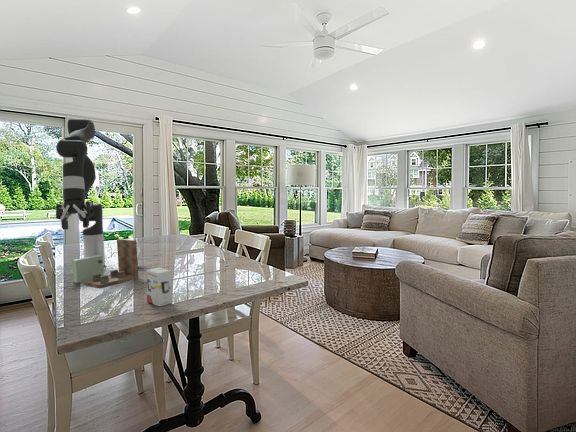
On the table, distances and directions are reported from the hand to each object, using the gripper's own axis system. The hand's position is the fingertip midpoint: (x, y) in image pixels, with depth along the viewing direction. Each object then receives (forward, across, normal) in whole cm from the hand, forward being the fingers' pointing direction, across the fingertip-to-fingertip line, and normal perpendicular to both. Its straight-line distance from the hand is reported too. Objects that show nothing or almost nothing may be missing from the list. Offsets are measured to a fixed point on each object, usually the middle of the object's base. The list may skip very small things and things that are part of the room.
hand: (75, 228), depth 136 cm
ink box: (+30, -38, +11) cm, 50 cm away
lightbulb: (+19, 0, -44) cm, 48 cm away
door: (+22, +8, -19) cm, 30 cm away
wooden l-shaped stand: (+23, -4, -16) cm, 29 cm away
